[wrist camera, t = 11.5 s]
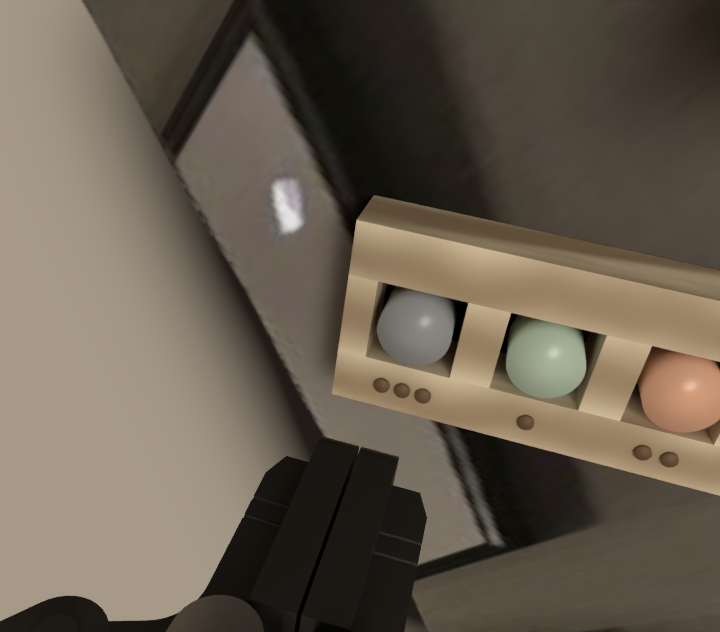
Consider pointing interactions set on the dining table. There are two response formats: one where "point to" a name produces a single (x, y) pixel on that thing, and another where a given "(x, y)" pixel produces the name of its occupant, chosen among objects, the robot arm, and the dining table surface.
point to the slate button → (416, 326)
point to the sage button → (545, 357)
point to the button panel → (540, 301)
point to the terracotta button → (680, 390)
